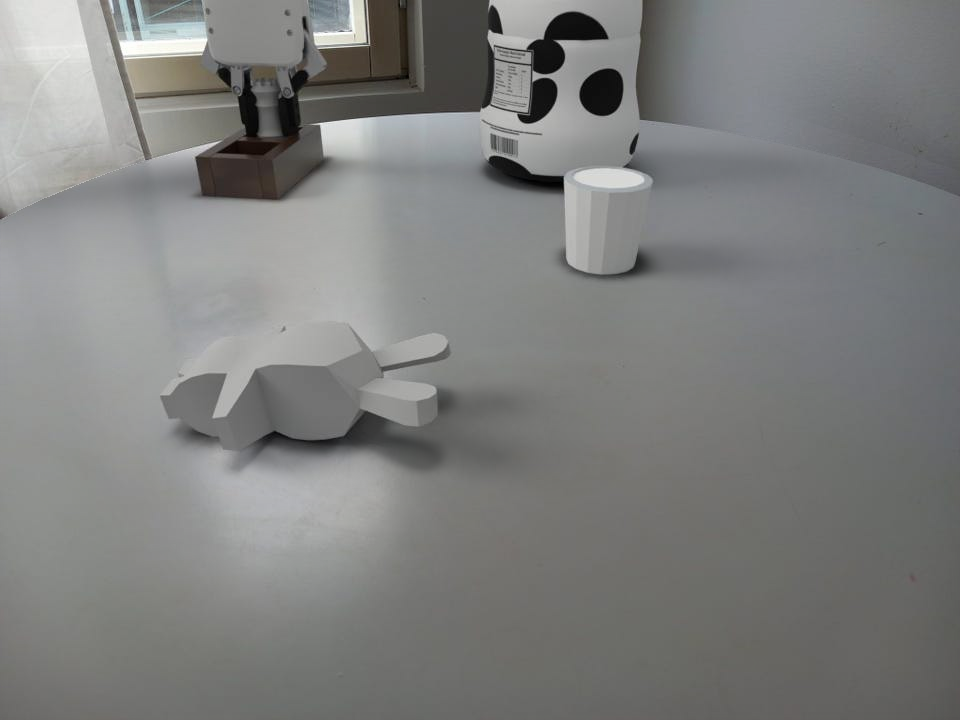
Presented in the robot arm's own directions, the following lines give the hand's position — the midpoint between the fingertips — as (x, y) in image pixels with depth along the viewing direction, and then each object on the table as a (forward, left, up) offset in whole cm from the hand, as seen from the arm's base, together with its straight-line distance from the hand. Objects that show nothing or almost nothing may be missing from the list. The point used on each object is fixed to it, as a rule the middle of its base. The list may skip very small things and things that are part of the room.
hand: (272, 130), depth 81 cm
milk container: (+31, +4, -4) cm, 32 cm away
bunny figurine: (+20, -46, -4) cm, 51 cm away
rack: (0, -3, -4) cm, 5 cm away
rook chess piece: (0, 0, -3) cm, 3 cm away
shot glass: (+36, -21, -4) cm, 42 cm away
